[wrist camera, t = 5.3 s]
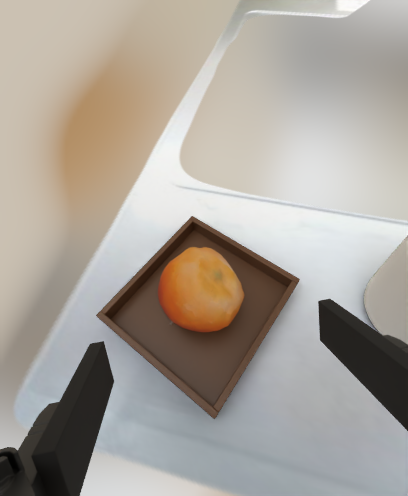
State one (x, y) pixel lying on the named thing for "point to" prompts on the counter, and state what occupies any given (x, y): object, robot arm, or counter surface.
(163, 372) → the tray
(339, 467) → the counter surface
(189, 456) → the counter surface
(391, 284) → the cup
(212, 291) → the fruit
